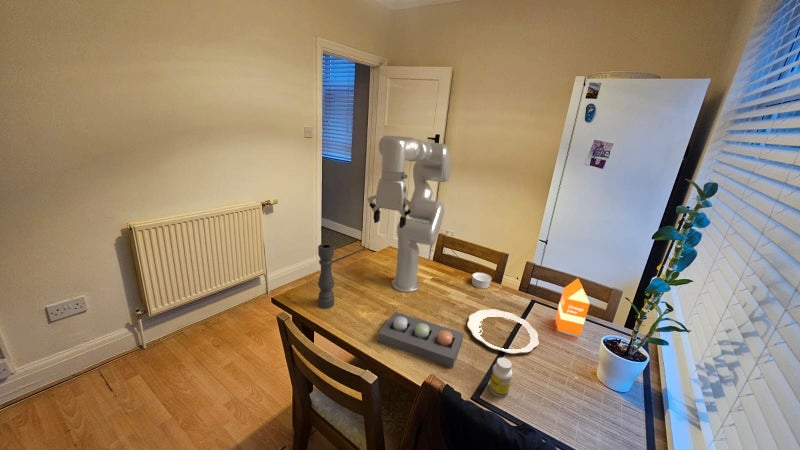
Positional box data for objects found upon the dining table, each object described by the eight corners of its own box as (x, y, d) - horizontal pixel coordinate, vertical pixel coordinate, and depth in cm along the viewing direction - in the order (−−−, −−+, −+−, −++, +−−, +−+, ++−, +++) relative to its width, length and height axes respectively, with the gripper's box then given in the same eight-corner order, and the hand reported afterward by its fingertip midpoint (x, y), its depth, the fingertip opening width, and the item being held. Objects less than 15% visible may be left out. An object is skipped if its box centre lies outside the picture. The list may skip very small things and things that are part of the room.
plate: (535, 322, 124) (536, 318, 123) (540, 366, 101) (541, 361, 101) (471, 307, 131) (471, 303, 130) (462, 344, 108) (463, 340, 108)
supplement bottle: (486, 382, 93) (491, 355, 90) (503, 382, 93) (509, 355, 90) (492, 397, 88) (498, 369, 85) (511, 397, 88) (518, 369, 85)
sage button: (417, 328, 110) (418, 321, 109) (430, 333, 108) (431, 325, 107) (412, 336, 106) (413, 329, 105) (425, 341, 104) (426, 333, 103)
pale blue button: (396, 322, 113) (397, 315, 112) (408, 326, 111) (409, 318, 110) (390, 329, 109) (391, 322, 108) (403, 333, 107) (404, 326, 106)
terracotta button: (439, 335, 107) (440, 328, 106) (452, 340, 106) (454, 332, 105) (435, 344, 103) (436, 336, 102) (449, 349, 101) (450, 341, 100)
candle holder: (330, 310, 121) (330, 250, 113) (315, 307, 122) (314, 248, 114) (336, 301, 127) (337, 244, 119) (322, 299, 128) (321, 242, 120)
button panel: (394, 319, 119) (395, 311, 118) (462, 341, 110) (463, 332, 108) (377, 341, 106) (378, 333, 105) (452, 368, 97) (454, 359, 96)
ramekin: (475, 278, 155) (476, 270, 154) (492, 284, 151) (494, 276, 149) (467, 285, 149) (469, 276, 147) (485, 291, 144) (487, 283, 142)
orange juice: (556, 332, 118) (569, 285, 112) (554, 319, 126) (566, 275, 120) (579, 338, 116) (594, 290, 110) (576, 324, 124) (589, 279, 118)
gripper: (420, 178, 106) (415, 226, 111) (374, 171, 111) (372, 217, 117) (413, 181, 99) (408, 232, 104) (364, 174, 105) (362, 222, 110)
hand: (389, 224), depth 110 cm, fingers open, 9 cm apart
